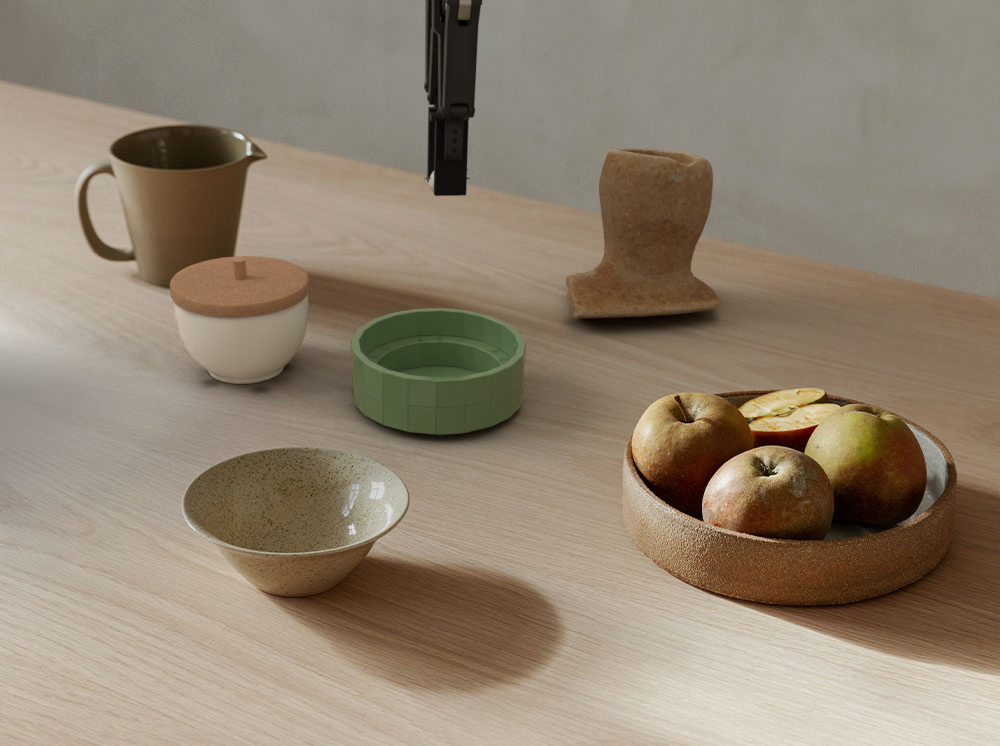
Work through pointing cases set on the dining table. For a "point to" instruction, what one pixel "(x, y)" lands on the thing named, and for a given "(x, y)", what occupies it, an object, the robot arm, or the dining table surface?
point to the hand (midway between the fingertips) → (446, 187)
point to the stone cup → (647, 237)
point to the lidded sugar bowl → (241, 315)
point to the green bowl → (438, 370)
